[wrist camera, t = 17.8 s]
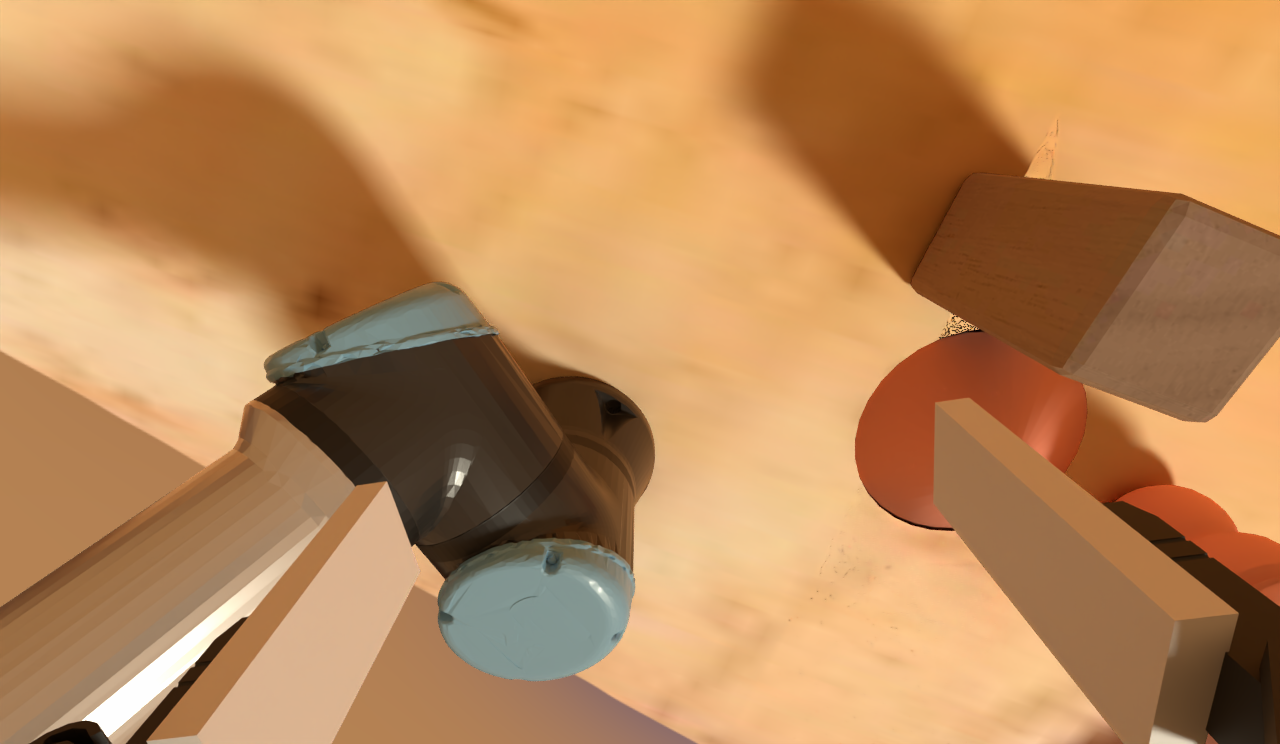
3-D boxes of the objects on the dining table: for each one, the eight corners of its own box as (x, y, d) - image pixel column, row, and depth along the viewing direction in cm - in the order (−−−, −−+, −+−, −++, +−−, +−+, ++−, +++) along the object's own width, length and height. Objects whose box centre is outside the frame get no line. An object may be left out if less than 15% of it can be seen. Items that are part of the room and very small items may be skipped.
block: (1005, 325, 51) (1214, 434, 32) (902, 286, 50) (1055, 376, 31) (1075, 212, 47) (1353, 261, 29) (965, 167, 46) (1181, 188, 28)
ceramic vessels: (810, 482, 57) (884, 635, 39) (942, 286, 50) (1104, 367, 32) (1098, 607, 62) (1276, 792, 45) (1255, 447, 55) (1539, 591, 38)
